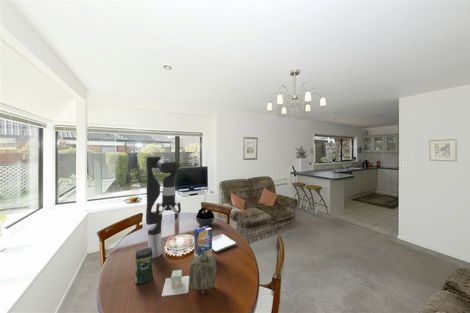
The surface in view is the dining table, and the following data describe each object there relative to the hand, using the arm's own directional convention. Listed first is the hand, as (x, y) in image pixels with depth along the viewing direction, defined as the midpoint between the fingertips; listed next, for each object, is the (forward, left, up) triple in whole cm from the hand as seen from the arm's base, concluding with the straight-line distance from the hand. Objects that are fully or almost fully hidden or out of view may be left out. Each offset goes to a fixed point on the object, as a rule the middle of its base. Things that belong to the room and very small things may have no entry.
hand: (168, 219), depth 111 cm
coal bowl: (-79, +26, -36) cm, 91 cm away
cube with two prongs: (+8, +6, -36) cm, 37 cm away
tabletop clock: (+15, +21, -36) cm, 45 cm away
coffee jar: (-1, -14, -36) cm, 39 cm away
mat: (+8, +6, -36) cm, 37 cm away
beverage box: (-17, +22, -36) cm, 46 cm away
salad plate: (-35, +36, -37) cm, 62 cm away
